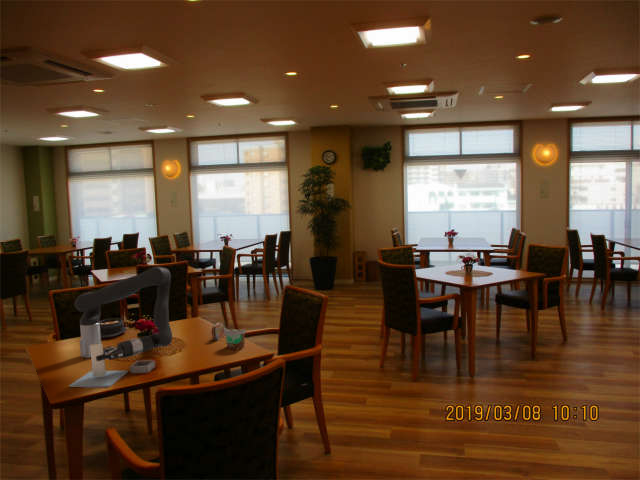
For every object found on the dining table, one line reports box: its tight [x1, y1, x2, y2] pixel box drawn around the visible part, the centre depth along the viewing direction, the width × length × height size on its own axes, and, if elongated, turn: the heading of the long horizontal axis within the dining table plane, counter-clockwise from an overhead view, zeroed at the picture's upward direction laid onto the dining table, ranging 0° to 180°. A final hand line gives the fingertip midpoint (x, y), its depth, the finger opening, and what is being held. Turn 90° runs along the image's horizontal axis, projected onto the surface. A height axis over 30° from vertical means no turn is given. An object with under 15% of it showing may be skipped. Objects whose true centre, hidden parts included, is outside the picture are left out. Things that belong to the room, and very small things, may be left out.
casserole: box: [99, 317, 128, 339], centre depth 300 cm, size 25×19×8 cm
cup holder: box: [129, 359, 156, 374], centre depth 235 cm, size 9×9×3 cm
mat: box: [68, 370, 129, 388], centre depth 224 cm, size 18×18×1 cm
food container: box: [224, 327, 246, 350], centre depth 262 cm, size 12×6×10 cm, turn 68°
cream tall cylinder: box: [90, 342, 107, 377], centre depth 223 cm, size 5×5×14 cm
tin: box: [211, 321, 227, 341], centre depth 284 cm, size 15×3×8 cm, turn 168°
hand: (94, 357), depth 222 cm, fingers closed on cream tall cylinder, 5 cm apart
